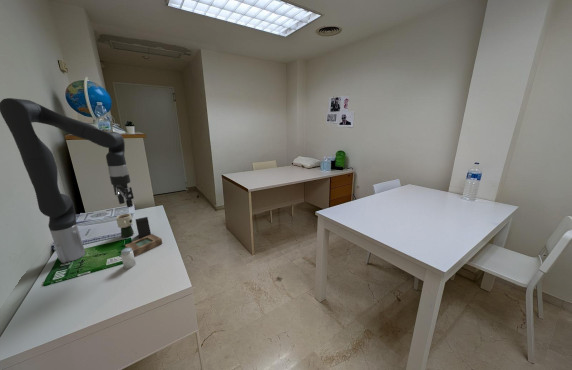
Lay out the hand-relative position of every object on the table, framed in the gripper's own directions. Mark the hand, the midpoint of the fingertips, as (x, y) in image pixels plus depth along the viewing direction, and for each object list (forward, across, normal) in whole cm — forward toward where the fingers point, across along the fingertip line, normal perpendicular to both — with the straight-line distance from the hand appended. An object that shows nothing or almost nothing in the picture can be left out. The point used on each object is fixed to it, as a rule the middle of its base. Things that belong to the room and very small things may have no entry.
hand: (126, 205), depth 107 cm
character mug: (+26, -21, +5) cm, 34 cm away
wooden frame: (+26, +1, +4) cm, 26 cm away
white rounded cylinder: (+26, +12, -8) cm, 30 cm away
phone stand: (+26, -11, +10) cm, 30 cm away
